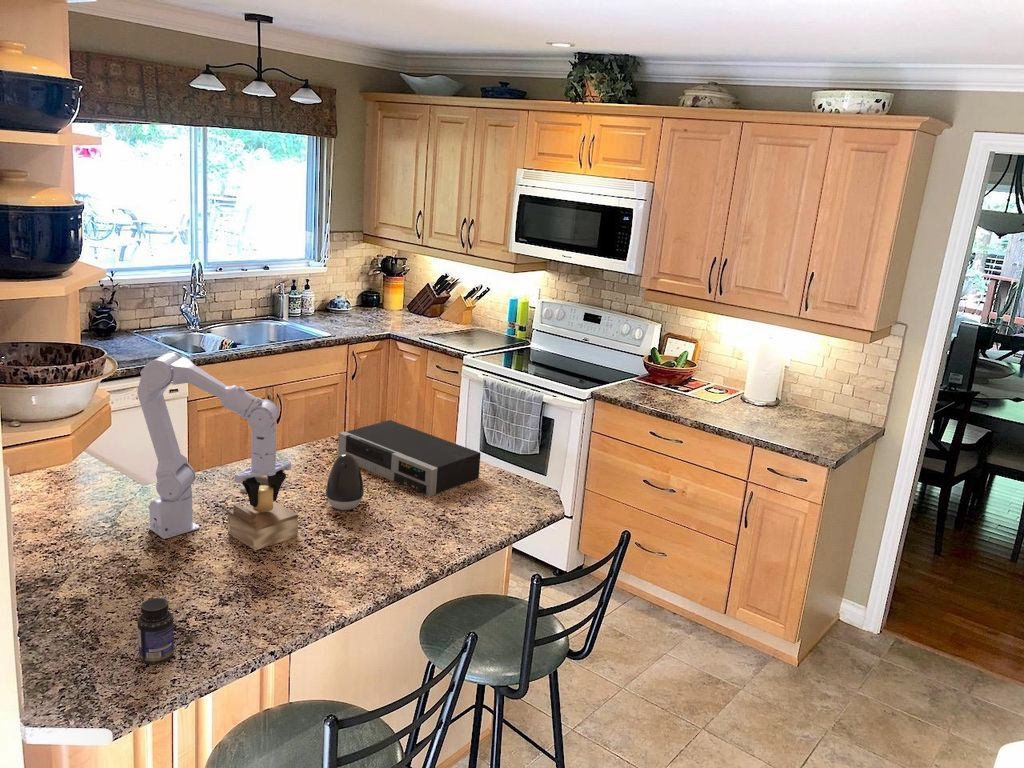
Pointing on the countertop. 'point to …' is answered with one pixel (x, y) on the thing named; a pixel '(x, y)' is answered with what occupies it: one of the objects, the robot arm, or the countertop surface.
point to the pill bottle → (155, 632)
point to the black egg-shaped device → (345, 483)
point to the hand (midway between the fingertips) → (263, 502)
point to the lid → (261, 515)
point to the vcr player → (410, 457)
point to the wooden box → (262, 533)
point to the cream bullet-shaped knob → (264, 499)
